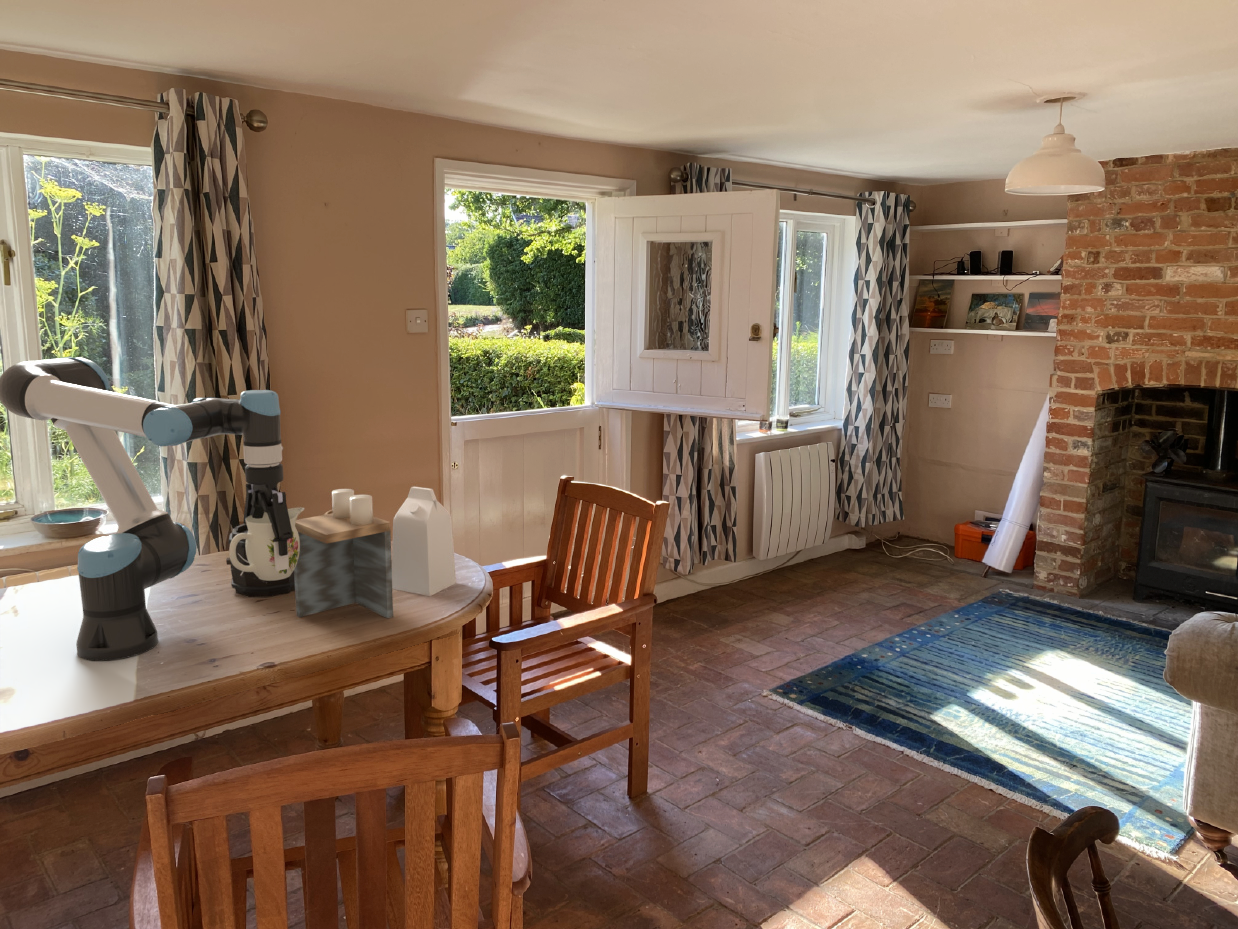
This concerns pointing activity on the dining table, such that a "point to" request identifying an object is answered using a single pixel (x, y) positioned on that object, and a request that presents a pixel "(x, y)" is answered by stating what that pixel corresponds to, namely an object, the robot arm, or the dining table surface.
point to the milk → (422, 545)
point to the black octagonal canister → (249, 581)
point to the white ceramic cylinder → (341, 503)
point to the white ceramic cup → (361, 510)
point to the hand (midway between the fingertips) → (269, 563)
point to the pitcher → (266, 547)
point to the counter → (343, 565)
